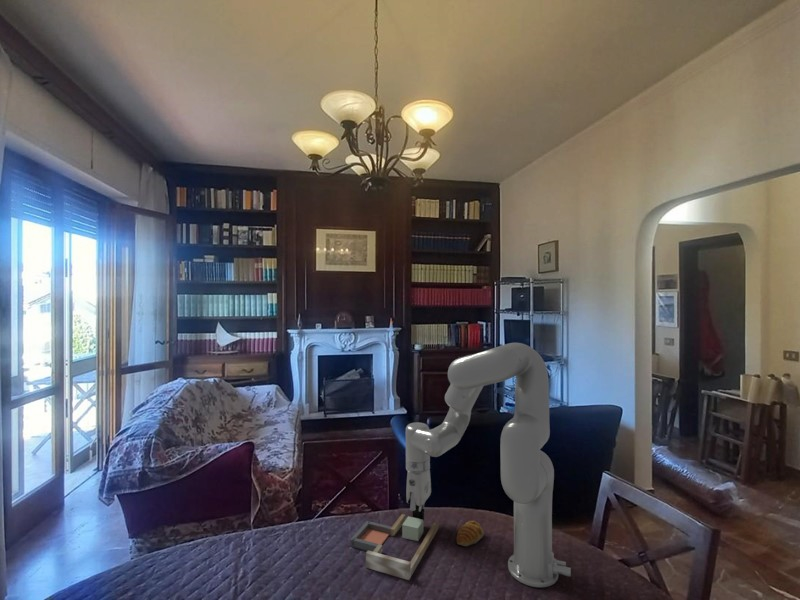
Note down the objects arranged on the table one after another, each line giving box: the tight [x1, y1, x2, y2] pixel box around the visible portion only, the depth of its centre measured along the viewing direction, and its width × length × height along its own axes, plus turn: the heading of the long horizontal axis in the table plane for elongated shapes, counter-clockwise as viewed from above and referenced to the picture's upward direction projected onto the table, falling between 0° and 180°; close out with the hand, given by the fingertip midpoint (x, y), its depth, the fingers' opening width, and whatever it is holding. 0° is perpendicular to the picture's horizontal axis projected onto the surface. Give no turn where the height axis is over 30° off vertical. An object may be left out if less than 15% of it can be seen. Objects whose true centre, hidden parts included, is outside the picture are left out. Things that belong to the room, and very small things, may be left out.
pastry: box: [455, 520, 485, 547], centre depth 121 cm, size 9×7×4 cm
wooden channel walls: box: [365, 513, 440, 581], centre depth 118 cm, size 12×25×4 cm, turn 157°
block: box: [401, 515, 424, 542], centre depth 123 cm, size 5×5×4 cm
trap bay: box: [349, 520, 392, 552], centre depth 121 cm, size 9×10×2 cm
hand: (418, 521), depth 128 cm, fingers closed
